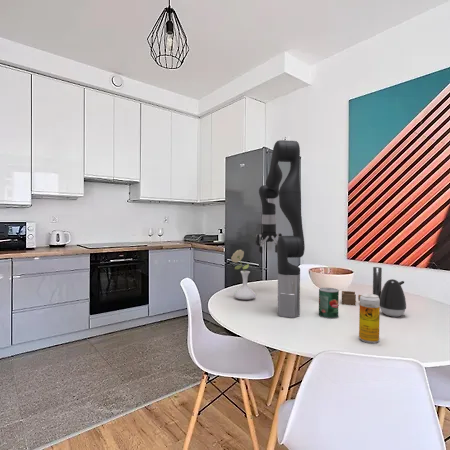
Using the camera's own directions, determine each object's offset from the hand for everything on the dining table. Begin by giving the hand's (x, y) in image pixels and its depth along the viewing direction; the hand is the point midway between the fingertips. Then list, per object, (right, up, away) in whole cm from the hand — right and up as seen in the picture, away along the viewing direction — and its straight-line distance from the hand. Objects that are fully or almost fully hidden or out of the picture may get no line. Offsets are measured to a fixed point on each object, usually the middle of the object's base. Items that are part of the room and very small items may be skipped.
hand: (268, 252), depth 169 cm
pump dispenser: (+48, -24, -36) cm, 64 cm away
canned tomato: (+20, -23, -38) cm, 49 cm away
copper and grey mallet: (+48, -23, -21) cm, 57 cm away
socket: (+36, -23, -17) cm, 46 cm away
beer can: (+24, -24, -65) cm, 73 cm away
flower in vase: (-14, -23, -11) cm, 29 cm away
